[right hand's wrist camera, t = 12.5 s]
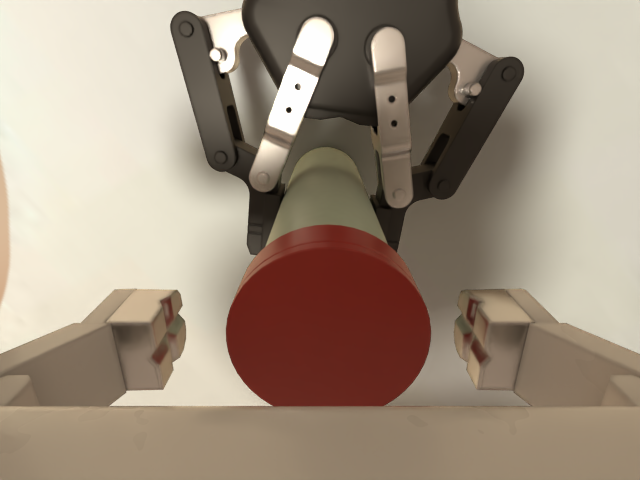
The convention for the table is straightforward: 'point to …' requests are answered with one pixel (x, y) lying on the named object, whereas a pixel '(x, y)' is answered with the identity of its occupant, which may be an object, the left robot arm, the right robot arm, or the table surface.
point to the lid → (328, 321)
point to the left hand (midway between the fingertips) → (319, 266)
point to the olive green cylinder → (325, 196)
